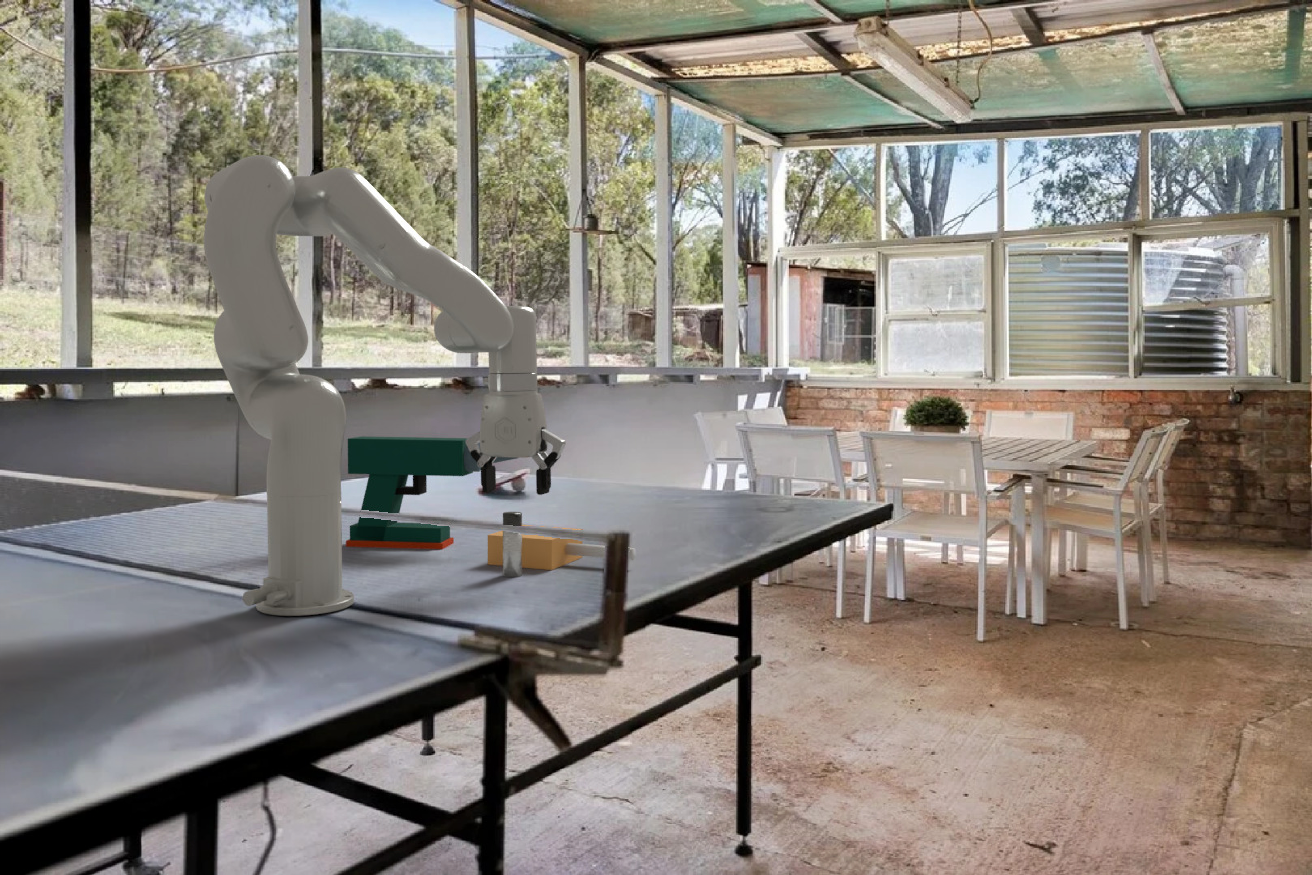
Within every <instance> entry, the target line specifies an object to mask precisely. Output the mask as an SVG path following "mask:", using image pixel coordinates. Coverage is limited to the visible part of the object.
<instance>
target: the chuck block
mask: <svg viewBox="0 0 1312 875" xmlns="http://www.w3.org/2000/svg"><path fill="white" fill-rule="evenodd" d="M522 526H532V525H530V524H529V525H527V524H522ZM539 526H540V527H546V526H543V525H539ZM552 527H553V528H560V526H559V527H557V526H556V527H555V526H552ZM561 528H562V529H572V530H583V528H571V527H561ZM605 546H606V545H597V544H585V543H583V541H578V540H573V539H560V538H552V537H544V536H538V535H523V534H522V569H523V568H525V569H536V570H545V571H547V570H549V571H553V570H555V569H557V568H558V569H559V568H560V567H563V566H565V565H567V564H570V563H572V562H574V561H577V560H579V559H582V558H583V557H589V558H600V559H601V558H603V559H605V558H604V556H605ZM629 548H630V552H629V560H628V561H634V560H635V558H636V548H633V547H629ZM487 565H489V566H490V565H491V566H502V567H503V530H500V531H497V532H493V533H489V534H487Z"/></svg>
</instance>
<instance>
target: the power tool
mask: <svg viewBox="0 0 1312 875" xmlns="http://www.w3.org/2000/svg"><path fill="white" fill-rule="evenodd" d="M468 438H469V437H425V436H424V437H423V436H421V437H420V436H419V437H416V436H414V437H413V436H407V437H406V436H365V435H363V436H357V437H349V438H347V474H349V475H368V477H367V478H368V479H367V483H366V486H365V492H364V495H363V500H362V504H361V508H360V511H361V510H369V511H379V512H388V513H399V514H400V512H401V508H402V503H403V498H404V496H407V495H408V496H420V495H423V494H425V493H427V490H428V488H427V486H428V485H427V480H428V478H427V476H432V477H433V476H434V477H435V476H436V477H440V476H441V477H442V476H443V477H464V476H467V475H470V474H473V473H474V472H477V473H481V467H478V465H477V462H476V461H475V460H474V459H473V458H472V456H471V452H470V451H469V449H468V447H467V445H466V442H465V441H466V439H468ZM478 446H479V449H480V442H479V443H478ZM516 459H519V457H497V458H496V459H495V460H494V462H493V463H492V464H496V463H501V462H506V461H511V460H516ZM409 476H412V486H410V485H407V482H408V478H409ZM421 523H422V522H398V521H391V520H381V519H374V518H361V517H359V516H358V520H357V523H354V524H352V525H349V539H347V540H345V547H349V548H378V549H379V548H381V549H382V548H383V549H385V548H388V549H416V550H418V549H419V550H420V549H421V550H423V549H424V550H444V549H446V548H448V547H450V546H451V545H453V544H454V539H455V538H454V537H451V526H450V527H449V526H437V525H431V524H421Z"/></svg>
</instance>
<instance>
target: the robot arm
mask: <svg viewBox="0 0 1312 875" xmlns="http://www.w3.org/2000/svg"><path fill="white" fill-rule="evenodd" d="M208 180H209V181H208V182H207V184H206V186H205V189H204V203H205V207H206V209H207V211H208V212H207V214H206V219H205V223H204V224H205V225H204V231H203V249H204V254H205V260H206V264H207V268H208V270H209V274H210V276H211V279H212V282H213V285H214V287H215V290H216V293H217V295H218V298H219V300H220V303H221V306H222V308H223V311H222V312H221V313H220V315H219V316H218V318H217V320H216V322H215V325H214V329H213V343H214V348H215V352H216V355H217V358H218V360H219V362H220V365H221V367H222V369H223V371H224V374H225V377H226V379H227V381H228V383H229V385H230V388H231V390H232V393H233V395H234V397H235V399H236V401H237V403H238V406H239V408H240V411H241V412H242V414H243V416H244V418H245V420H246V422H247V424H248V425H249V426H250V427H251V428H252V429H253V431H254V432H255V433H257V434H258V435H259V436H261V437H263V438H265V439H267V440H270V442H269V443H270V444H269V449H268V456H267V462H266V463H267V465H266V514H267V515H266V516H267V519H266V520H267V524H266V525H267V526H266V527H267V569H268V570H267V574H268V576H267V577H262V579H263V580H262V583H263V584H262V585H261V586H260V588H254V589H250V590H247V591H244V593H243V595H242V602H243V603H244V604H245V606H247V607H250V606H255V608H256V611H259V612H260V613H261V614H265V615H272V616H284V617H294V616H295V617H298V616H299V617H300V616H301V617H302V616H311V615H313V616H315V615H319V614H321V615H322V614H327V613H333V612H338V611H342V610H345V609H346V608H348V607H350V606H352V605H353V604H354V602H355V594H354V593H353V592H352V591H350V590H348V589H343V540H342V537H343V536H342V535H343V532H342V530H343V529H342V525H343V524H342V523H343V522H342V518H343V517H342V471H341V470H342V457H343V456H342V455H343V454H342V453H343V445H344V440H345V432H346V425H347V424H346V423H347V412H346V411H347V410H346V405H345V402H344V400H343V397H342V394H341V393H340V392H339V390H338V389H337V388H336V387H335V386H334V385H333V384H332V383H330V382H329V381H328V380H326V379H324V378H322V377H320V376H316V375H312V374H300V371H299V369H298V367H297V363H298V362H299V361H300V360H301V359H302V358H303V357H304V356H305V354H306V352H307V350H308V345H309V335H308V331H307V327H306V324H305V322H304V320H303V317H302V315H301V312H300V310H299V307H298V305H297V303H296V300H295V298H294V295H293V293H292V291H291V289H290V286H289V284H288V281H287V278H286V276H285V274H284V270H283V268H282V265H281V261H280V258H279V255H278V250H277V235H278V236H291V237H325V236H326V237H327V236H332V235H334V236H335V237H336V238H337V239H338V240H339V241H340V242H341V243H342V244H343V245H344V246H346V248H347V249H349V251H351V252H352V253H353V254H354V256H356V257H357V259H359V260H360V261H361V262H362V263H363V265H365V266H366V267H367V268H368V270H370V271H371V272H372V273H373V275H375V276H376V277H377V279H378V280H380V281H381V282H383V283H384V284H386V285H388V286H390V287H392V288H395V289H397V290H400V291H402V292H404V293H405V292H406V293H408V294H411V295H414V296H416V297H419V298H421V299H424V300H426V301H428V302H430V303H431V304H433V305H435V307H438V309H441V310H442V311H441V312H440V313H439V314H438V315H437V316H436V319H435V321H434V325H433V332H434V336H435V338H436V340H437V342H438V343H439V345H441V346H442V348H444V349H445V350H448V351H450V352H452V353H457V354H476V353H479V354H481V353H488V373H487V374H488V375H487V377H484V378H483V379H482V385H483V386H484V387H488V392H489V393H485V394H484V395H483V396H484V397H483V400H482V406H481V413H480V422H479V423H480V424H479V431H478V432H477V433H475V434H473V435H471V436H469V437H467V438H468V439H466V441H465V442H466V445H467V447H468V449H469V451H470V452H471V456H472V458H473V459H474V460H475V461H476V462H477V465H478V467H481V470H480V484H481V485H480V486H481V488H482V489H481V490H482V492H483V493H490V492H493V491H495V490H496V489H497V477H496V476H497V475H496V473H497V472H496V470H497V469H496V466H495V465H493V464H494V463H493V462H494V460H495V459H496V458H497V457H518V459H520V458H523V459H524V458H531V459H532V460H533V461H534V462H535V463H536V464H537V466H538V468H537V469H536V472H535V477H536V480H535V484H536V488H535V490H536V495H537V496H538V495H539V496H542V495H545V494H548V493H550V489H551V488H552V472H551V471H552V468H553V467H554V465H555V463H557V462H558V460H559V459H560V458H561V455H562V453H563V450H564V449H565V446H566V440H564V439H563V438H561V437H559V436H557V435H556V434H554V433H553V432H551V431H549V430H548V426H547V417H546V411H545V406H544V405H545V404H544V401H543V397H542V393H539V392H538V360H537V359H538V357H537V356H538V354H537V317H536V316H537V315H536V312H535V311H534V309H533V308H532V307H529V306H524V305H506V304H505V303H504V302H503V301H502V300H501V298H500V297H499V296H497V295H498V294H496V293H495V292H494V291H493V290H492V289H491V288H490V287H489V286H488V285H487V284H486V282H485V281H483V280H482V279H481V278H480V277H479V276H478V275H477V274H476V273H474V272H473V271H472V270H470V269H469V268H468V267H466V266H465V265H464V264H462V263H460V262H459V261H457V260H455V259H454V258H453V257H451V256H450V255H449V254H447V253H445V252H444V251H442V250H440V249H438V248H437V247H435V246H434V245H431V244H430V243H429V242H428V241H426V240H425V239H423V237H422V236H421V235H420V234H418V232H417V231H416V230H415V229H414V228H413V227H412V226H411V225H410V223H408V222H407V221H406V220H405V219H404V218H403V217H402V216H401V214H399V213H398V212H397V211H396V209H395V208H394V207H393V206H392V205H391V204H390V203H389V201H387V200H386V198H384V196H383V195H381V193H380V192H378V191H377V189H375V187H374V186H373V185H372V184H371V183H370V182H369V181H368V180H367V179H366V178H365V177H363V175H362V174H360V173H359V172H357V171H355V170H354V169H350V168H347V167H334V168H330V169H327V170H324V171H321V172H318V173H316V174H314V175H305V176H304V175H303V176H302V175H292V173H291V171H290V170H289V168H288V167H287V166H286V165H285V164H284V162H282V161H281V160H279V159H278V158H276V157H273V156H270V155H265V154H255V155H250V156H246V157H244V158H241V159H238V160H237V161H235V162H233V163H231V164H230V165H228V166H226V167H223V168H222V169H220V170H218V171H217V172H216V173H215V174H213V175H212V176H211V178H210V179H208ZM478 443H480V449H479V446H478ZM548 444H550V445H552V450H551V452H550V453H549V454H548V453H547V450H548Z"/></svg>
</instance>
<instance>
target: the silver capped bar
mask: <svg viewBox="0 0 1312 875" xmlns="http://www.w3.org/2000/svg"><path fill="white" fill-rule="evenodd" d="M503 525H513V526H522V525H523V512H521V511H505V512H503V513H502V526H503ZM502 531H503V530H502ZM522 575H523V567H522V534H520V533H513V532H506V531H503V566H502V576H503V577H504V578H517V577H518V578H519V577H521V576H522Z"/></svg>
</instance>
